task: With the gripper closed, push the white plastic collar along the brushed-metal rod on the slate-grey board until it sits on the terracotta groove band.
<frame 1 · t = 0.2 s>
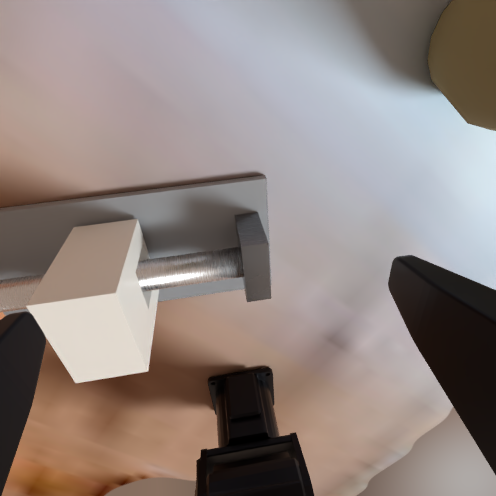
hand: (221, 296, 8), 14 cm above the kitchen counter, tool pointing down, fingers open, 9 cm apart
collar: (108, 295, 19), point 4 cm above the kitchen counter, slide at 0.0 cm
rail: (50, 263, 23), resting on base board
base board: (50, 263, 23), on the kitchen counter
squeeze bottle: (473, 39, 19), on the kitchen counter
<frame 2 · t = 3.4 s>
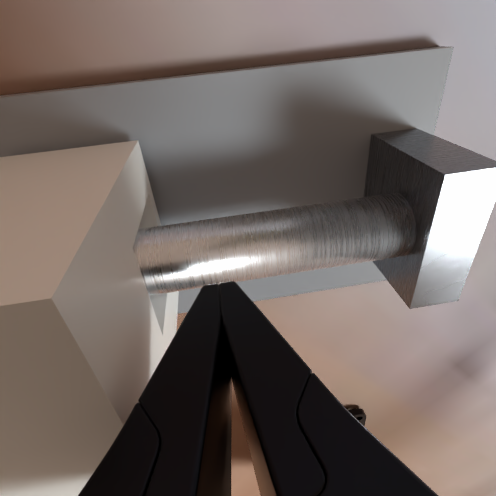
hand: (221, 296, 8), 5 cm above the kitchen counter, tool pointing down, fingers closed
collar: (71, 304, 8), point 4 cm above the kitchen counter, slide at 1.3 cm, touching gripper
rail: (7, 236, 12), resting on base board
base board: (7, 236, 12), on the kitchen counter
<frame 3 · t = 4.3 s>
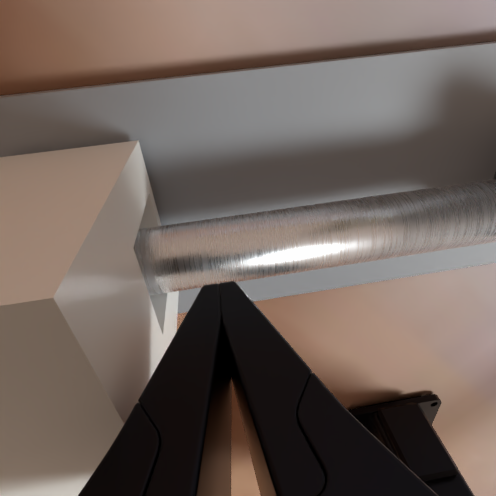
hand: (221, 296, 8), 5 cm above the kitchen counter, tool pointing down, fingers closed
collar: (71, 304, 8), point 4 cm above the kitchen counter, slide at 6.6 cm, touching gripper
rail: (152, 216, 12), resting on base board
base board: (152, 216, 12), on the kitchen counter
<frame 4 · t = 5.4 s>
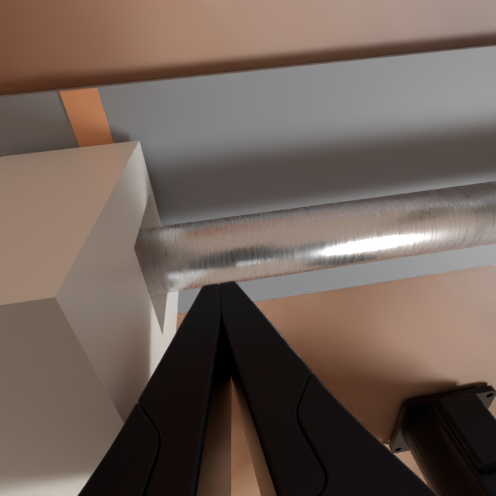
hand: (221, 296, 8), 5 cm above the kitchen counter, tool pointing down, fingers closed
collar: (72, 303, 8), point 4 cm above the kitchen counter, slide at 10.7 cm, touching gripper
rail: (259, 202, 12), resting on base board
base board: (259, 202, 12), on the kitchen counter
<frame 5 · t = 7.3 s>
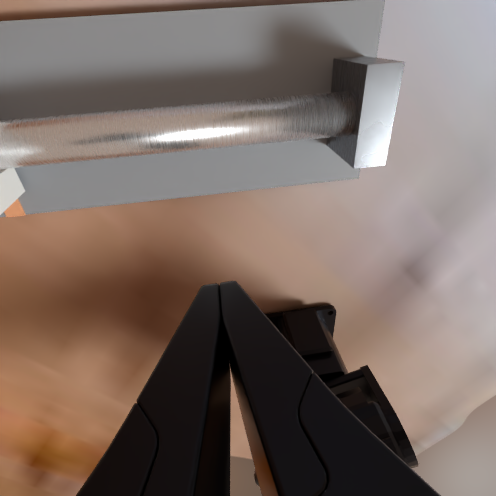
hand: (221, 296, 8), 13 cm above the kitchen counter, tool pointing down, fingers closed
rail: (82, 123, 17), resting on base board
base board: (82, 123, 17), on the kitchen counter
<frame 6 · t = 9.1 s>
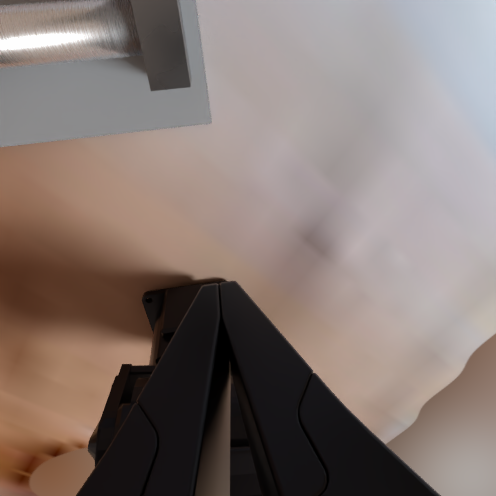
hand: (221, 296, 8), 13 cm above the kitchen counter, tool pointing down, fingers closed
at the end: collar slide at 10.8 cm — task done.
